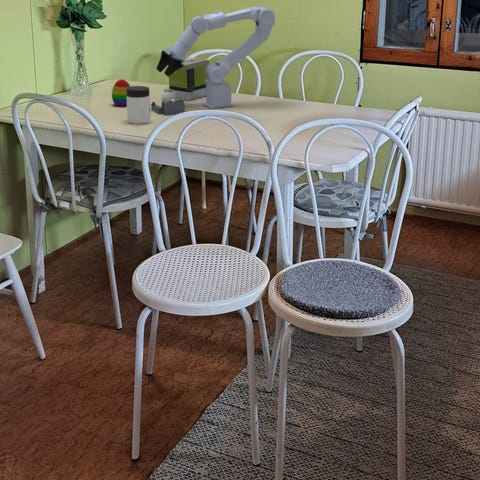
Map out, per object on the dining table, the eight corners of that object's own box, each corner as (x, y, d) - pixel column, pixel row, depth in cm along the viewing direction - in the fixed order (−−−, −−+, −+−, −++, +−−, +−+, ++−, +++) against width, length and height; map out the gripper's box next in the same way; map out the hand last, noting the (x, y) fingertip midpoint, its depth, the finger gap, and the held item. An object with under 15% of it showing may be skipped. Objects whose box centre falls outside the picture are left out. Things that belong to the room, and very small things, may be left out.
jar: (132, 125, 283) (131, 91, 278) (122, 120, 289) (121, 87, 284) (155, 122, 287) (154, 88, 283) (144, 117, 294) (143, 84, 289)
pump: (172, 103, 316) (171, 88, 314) (177, 105, 312) (177, 90, 310) (160, 104, 314) (159, 89, 312) (165, 107, 310) (164, 91, 308)
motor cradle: (176, 107, 310) (176, 93, 308) (187, 112, 301) (187, 98, 299) (151, 109, 305) (150, 96, 303) (161, 115, 297) (161, 101, 295)
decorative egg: (108, 106, 311) (107, 80, 307) (118, 102, 318) (117, 76, 314) (127, 108, 308) (125, 82, 304) (137, 103, 315) (135, 78, 311)
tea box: (191, 92, 337) (191, 56, 331) (210, 95, 331) (210, 59, 326) (168, 98, 325) (167, 61, 320) (187, 101, 320) (187, 64, 314)
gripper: (183, 42, 310) (162, 70, 312) (169, 32, 296) (147, 62, 298) (196, 53, 308) (175, 81, 310) (182, 44, 294) (160, 73, 297)
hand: (162, 72), depth 304 cm, fingers open, 7 cm apart
